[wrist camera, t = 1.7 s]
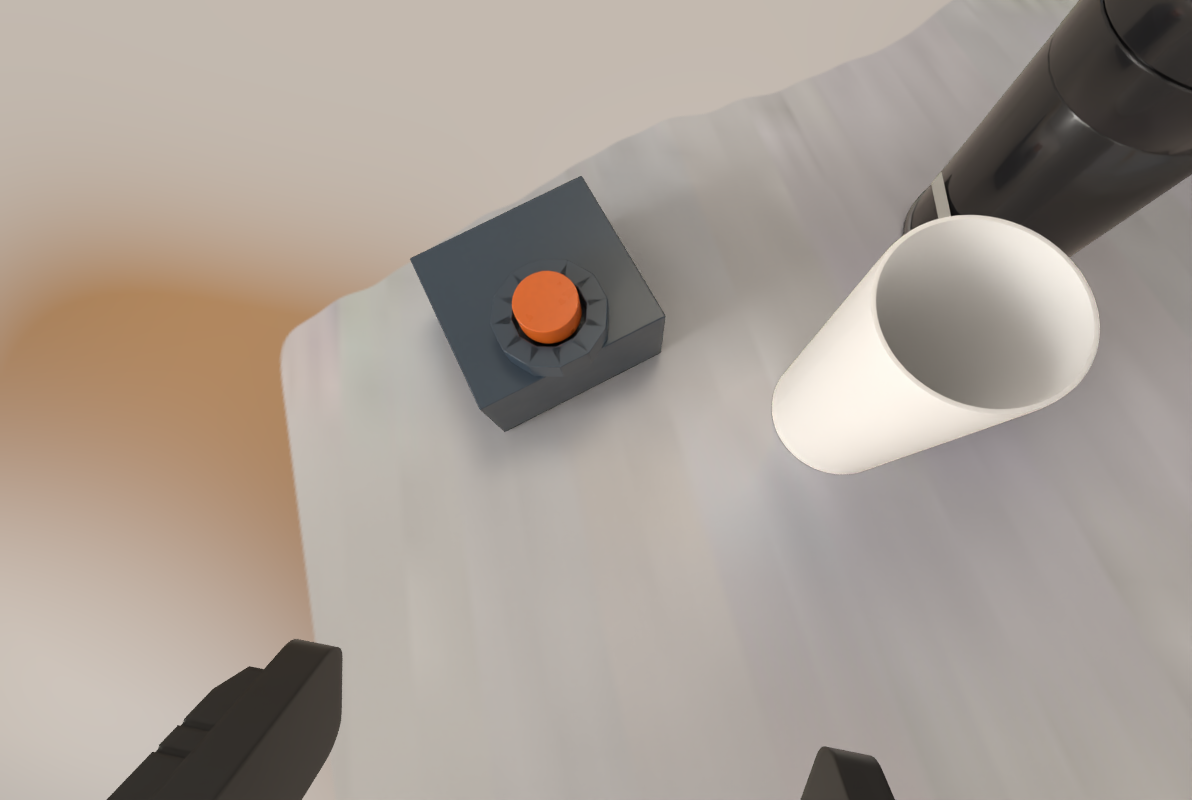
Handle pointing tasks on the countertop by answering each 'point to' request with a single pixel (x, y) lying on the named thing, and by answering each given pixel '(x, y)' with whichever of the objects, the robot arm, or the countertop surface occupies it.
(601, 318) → the grey button base
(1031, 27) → the countertop surface
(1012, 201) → the robot arm
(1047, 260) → the cup
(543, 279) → the button
